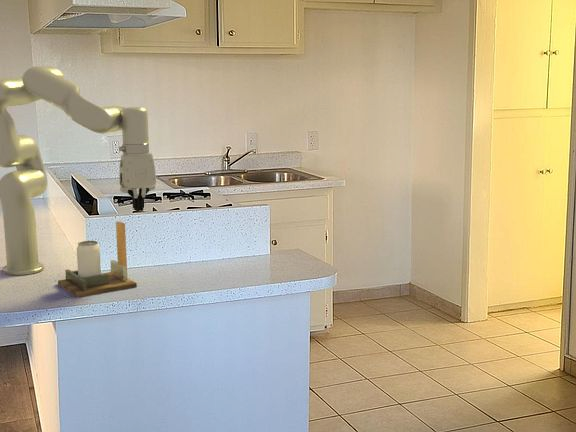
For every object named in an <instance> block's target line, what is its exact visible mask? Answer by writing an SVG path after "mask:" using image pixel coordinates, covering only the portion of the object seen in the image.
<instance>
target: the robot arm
mask: <svg viewBox="0 0 576 432" xmlns="http://www.w3.org/2000/svg"><path fill="white" fill-rule="evenodd" d="M40 100H43V101H45V102H47V103H49V104H51V105H53V106H55V107H57V108H58V109H60V110H61V111H63V112H64V113H65V114H66V115H67V117H69V119H71V120H72V121H74V123H76V124H78V125H80V126H81V127H83V128H85V129H88V130H90V131H92V132H94V133H97V134H107V133H115V132H118V131H119V132H121V133H122V144H121V146H119V147H118V151H119V152H122V154H121V155H120V162H119V176H118V177H119V185H120V186H119V187H120V190H119V192H120V193H124V194H128V196H129V197H130V198H132V199H131V200H132V208H133V211H135V212H143V211H144V208H145V198H146V196H147V194H149V192H151V191H153V190H155V189H156V185H157V174H156V168H155V167H156V166H155V160H154V156H153V153H152V152H151V153H150V143H149V141H150V139H149V117H148V116H149V115H148V110H147V109H146V108H145V107H141V106H132V107H130V106H129V107H125V106H119V105H112V106H99V105H97V104H95V103H93V102H91V101H89V100H87V99H86V98H85V97H83V96H82V95H81V90H80V87H79V86H78V85H77V84H75V83H73V82H71V81H69V80H67V79H65V75H64V74H63V72H62V71H61V70H59V68H56V67H55V66H50V65H45V66H44V65H43V66H41V65H39V66H36V65H35V66H31V67H29V68H28V69H27V70H25V71H24V72H23V75H22V76H20V77H0V167H1V168H5V169H8V168H14V167H16V168H15V169H16V170H15V171H10V172H7V173H6V174H4V175H3V176H2V177H1V178H0V205H1V209H2V219H3V220H2V221H3V229H4V230H3V231H4V232H3V233H4V244H5V247H4V248H5V257H6V258H5V259H6V260H5V261H6V265H5V266H3V267H2V268H1V272H2V273H3V274H4V275H9V276H25V275H33V274H37V273H39V272H42V271H44V269H45V265H44V264H43V263H42V262H39V251H38V235H37V233H38V232H37V221H36V212H35V208H34V205H33V203H32V201H31V199H34V198H38V197H39V196H41V195H43V194H44V193H45V192H46V190H47V187H48V177H47V176H48V175H47V172H46V169H45V165H44V162H43V158H42V155H41V151H40V147H39V145H38V144H37V143H36V141H35V140H34V138H32V137H31V136H29V135H26V134H18V132H17V128H16V124H15V121H14V119H13V118H12V115H11V114H10V113H9V111H8V110H7V107H14V106H24V105H28V104H31V103H33V102H38V101H40Z"/></svg>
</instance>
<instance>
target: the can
mask: <svg viewBox="0 0 576 432" xmlns="http://www.w3.org/2000/svg"><path fill="white" fill-rule="evenodd" d="M98 243H99V242H98V241H96V240H83V241H79V242H77V247H76V259H77V260H76V261H77V262H76V263H77V270H78V276H80V277H81V278H84V277H90V276H96V275H101V274H102V271H101V269H102V268H101V267H102V266H101V251H100V249H101V248H100V245H99V244H98Z"/></svg>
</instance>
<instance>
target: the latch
mask: <svg viewBox="0 0 576 432" xmlns="http://www.w3.org/2000/svg"><path fill="white" fill-rule="evenodd" d="M115 228H116V231H115V232H116V233H115V234H116V250H117V253H116V254H117V255H116V256H117V260H115V259H113V260H110V272H111V274H112V275H114V276H116V277H117V278H119V279H121V280H123V281H127V278H128V263H127V262H128V261H127V260H128V258H127V241H126V223H124V222H122V221H120V220H119V221H116V222H115Z"/></svg>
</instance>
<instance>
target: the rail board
mask: <svg viewBox="0 0 576 432" xmlns="http://www.w3.org/2000/svg"><path fill="white" fill-rule="evenodd" d="M103 274H108V276H109V285H103V286H97V287H91V288H87V291H84V292H83V291H82V290H80V289H79V288H77V287H76V286H75V285H73V284H72V283H70V282H69V281H67V280H66V278H64V279H59V280H57V285H58V286H60V287H61V288H62V289H64V290H66V291H67V292H68V293H70V294H71V295H72V296H74V297H76V298H81V297H86V296H87V297H88V296H92V295H98V294H104V293H109V292H117V291H123V290H127V289H132V288H137V287H138V285H137V282H135V281H134V280H132V279H130V278H128V277H127V281H123V280H121V279H119V278H117V277H116V276H114V275H112V274H111V271H110V272H103V273H102V272H101V275H103Z"/></svg>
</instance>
